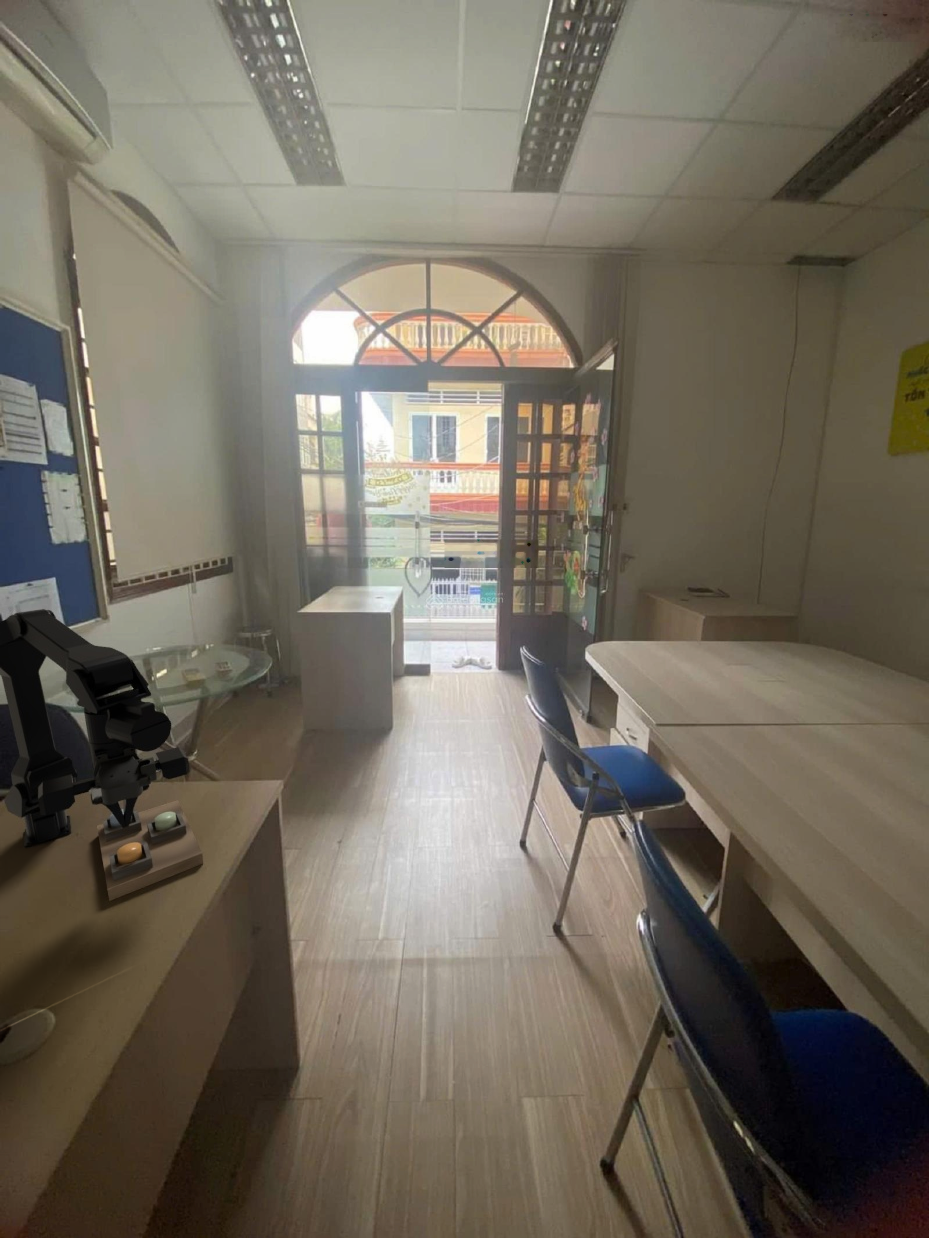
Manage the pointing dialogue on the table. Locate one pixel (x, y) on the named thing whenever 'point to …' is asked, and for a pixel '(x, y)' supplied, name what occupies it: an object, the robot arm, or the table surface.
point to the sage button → (165, 821)
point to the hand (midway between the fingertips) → (125, 826)
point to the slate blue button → (115, 821)
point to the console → (147, 850)
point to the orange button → (129, 853)
